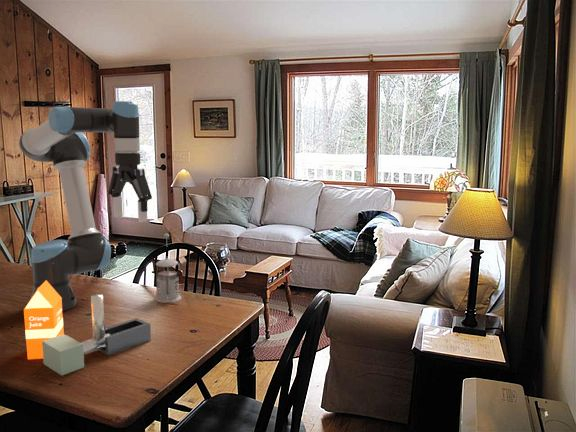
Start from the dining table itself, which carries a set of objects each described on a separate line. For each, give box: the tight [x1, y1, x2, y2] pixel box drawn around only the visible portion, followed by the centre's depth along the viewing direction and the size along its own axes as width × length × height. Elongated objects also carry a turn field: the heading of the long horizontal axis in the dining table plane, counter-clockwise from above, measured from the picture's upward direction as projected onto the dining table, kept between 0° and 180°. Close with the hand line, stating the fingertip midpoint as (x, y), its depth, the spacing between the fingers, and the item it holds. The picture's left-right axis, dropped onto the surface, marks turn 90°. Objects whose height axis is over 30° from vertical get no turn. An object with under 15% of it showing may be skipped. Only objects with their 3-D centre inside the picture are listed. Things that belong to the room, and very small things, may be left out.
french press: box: [154, 233, 182, 304], centre depth 188 cm, size 10×12×25 cm
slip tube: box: [79, 293, 110, 356], centre depth 140 cm, size 14×4×16 cm, turn 141°
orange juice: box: [23, 280, 65, 360], centre depth 143 cm, size 8×9×20 cm
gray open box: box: [98, 317, 152, 357], centre depth 150 cm, size 14×7×5 cm, turn 141°
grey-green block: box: [42, 333, 85, 376], centre depth 136 cm, size 6×10×7 cm, turn 51°
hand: (130, 219), depth 161 cm, fingers open, 13 cm apart
